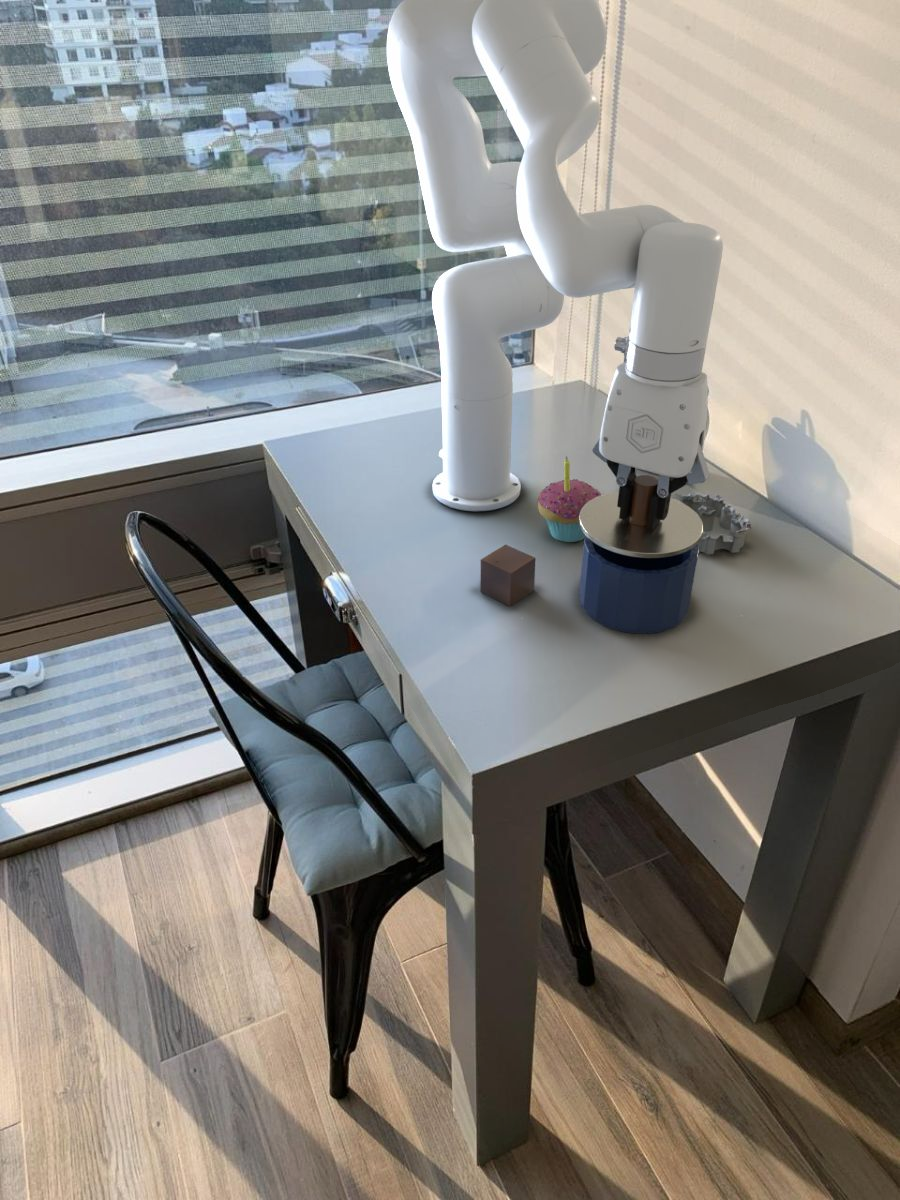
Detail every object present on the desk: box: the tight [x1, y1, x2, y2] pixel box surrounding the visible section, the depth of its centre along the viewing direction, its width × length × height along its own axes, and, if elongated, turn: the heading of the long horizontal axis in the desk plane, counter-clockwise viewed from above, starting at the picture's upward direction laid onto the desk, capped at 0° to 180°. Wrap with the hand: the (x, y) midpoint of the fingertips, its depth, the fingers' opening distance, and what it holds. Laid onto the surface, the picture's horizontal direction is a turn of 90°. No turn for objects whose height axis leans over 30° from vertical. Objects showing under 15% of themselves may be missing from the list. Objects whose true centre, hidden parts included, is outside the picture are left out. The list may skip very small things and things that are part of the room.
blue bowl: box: [578, 536, 700, 635], centre depth 103 cm, size 13×13×8 cm
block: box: [479, 544, 537, 607], centre depth 106 cm, size 5×5×5 cm
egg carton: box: [674, 493, 752, 555], centre depth 117 cm, size 11×8×4 cm
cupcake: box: [537, 455, 602, 543], centre depth 115 cm, size 9×8×12 cm
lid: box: [579, 474, 703, 558], centre depth 98 cm, size 14×14×6 cm
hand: (641, 517), depth 99 cm, fingers closed on lid, 2 cm apart
